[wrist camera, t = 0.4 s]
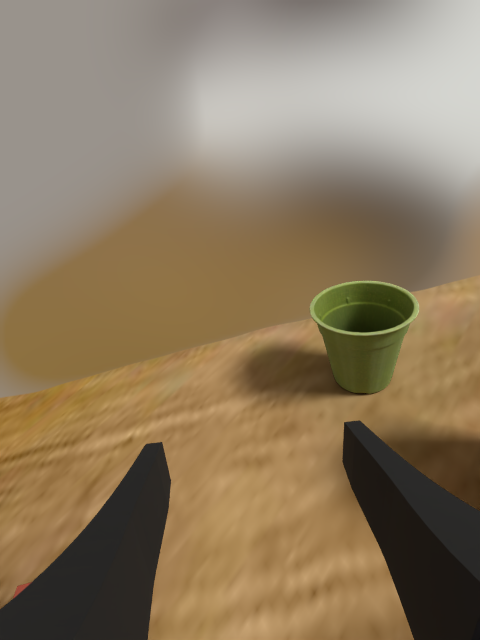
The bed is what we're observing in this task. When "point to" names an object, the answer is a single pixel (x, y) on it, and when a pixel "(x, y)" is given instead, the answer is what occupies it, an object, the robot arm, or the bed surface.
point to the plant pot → (363, 331)
